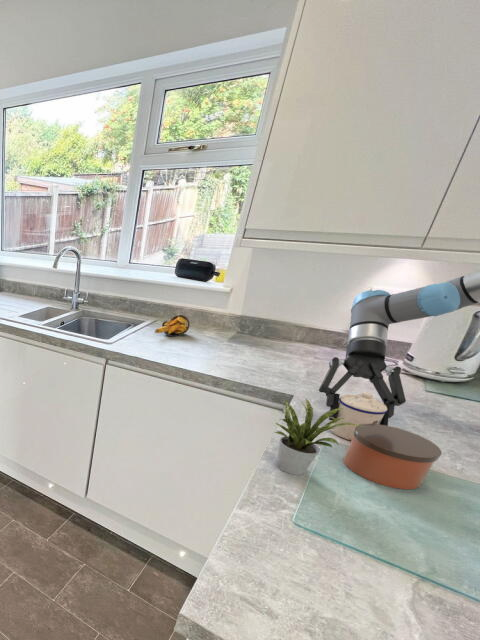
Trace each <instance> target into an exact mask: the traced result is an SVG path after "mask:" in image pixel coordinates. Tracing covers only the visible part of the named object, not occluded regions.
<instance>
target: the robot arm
mask: <svg viewBox="0 0 480 640" xmlns="http://www.w3.org/2000/svg"><path fill="white" fill-rule="evenodd" d="M478 303H480V269H479V270H477V271H474V272H471V273H468V274H464V275H463V276H459V277H456V278H453V279H450V280H447V281H445V282H439V283H433V284H428V285H425V286H421V287H418V288H413V289H409V290H406V291H402V292H398V293H397V292H396V293H393V294H391V293H390V292H389V291H386V290H382V289H376V290H372V289H369V290H365V291H362V292H360V293H358V294H357V295H356V296H355V297H354V299H353V302H352V307H351V309H350V324H349V331H348V336H347V345H346V350H345V351H346V352H345V358H343V359H342V358H339V357H337V356H334V357H333V358H332V359H331V360H330V361H329V363H328V365H329V366H328V367H329V369H328V370H327V373H326V374H325V376H324V379H323V380H322V382H321V384H320V386H319V387H318V391H319V393H322V394H323V393H324V394H325V396H326V401H325V406H326V407H328V408H329V411H331V410H333V409H338V404H339V402H340V401H339V399H340V397H341V396H340V395H341V394H340V393H337V392H338V391H339V390H340V389H341V388H342V387H343V386H344V384H345V383H347V381H348V380H349V379H350V378H352V377H353V378H361V379H362V378H363V379H366V380H369V382H370V383H371V384H372V385H373V386H374V388H375V391H376V392H377V394H378V396H379V398H380V399H381V401H382V403H383V404H384V405H386V407H387V412H386V413H385V414H384V416H383V418H382V420H381V422H380V424H379V425H386V426H389V419H391V418H392V417H394V415H395V407H400V406H402V405H403V404H405V403H406V401H407V400H406V395H405V392H404V387H403V384H402V379H401V371H402V367H401V366H398V365H397V366H395V367H393V366H389V365H387V364H386V362H385V360H386V354H387V353H386V352H387V343H388V333H389V327H390V326H389V325H392V324H398V323H402V322H408V321H414V320H419V319H425V318H430V317H438V316H443V315H445V314H450V313H453V312H456V311H458V310H461V309H463V308H466V307H469V306H473V305H475V304H478ZM342 365H343V366H344V368H345V369H346V370H347V372H345V374H343V376H341V377H340V379H339V380H338V381H337V382H336V383H335V384H334V385H333V386H332V387H329V386H330V385H331V383H332V381H333V379H334V378H335V375H336V373H337V371H338V369H339V368H340V367H341V366H342ZM382 372H385V373H386V376H387V377H388V385H389V387H388V385H387V383H386V381H385V380H384V375H383V373H382ZM329 417H333V418H336V417H337V412H336V413H334V414H333V415H331V416H329ZM329 417H328V420H329V421H331V420H334V419H333V418H329Z"/></svg>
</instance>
